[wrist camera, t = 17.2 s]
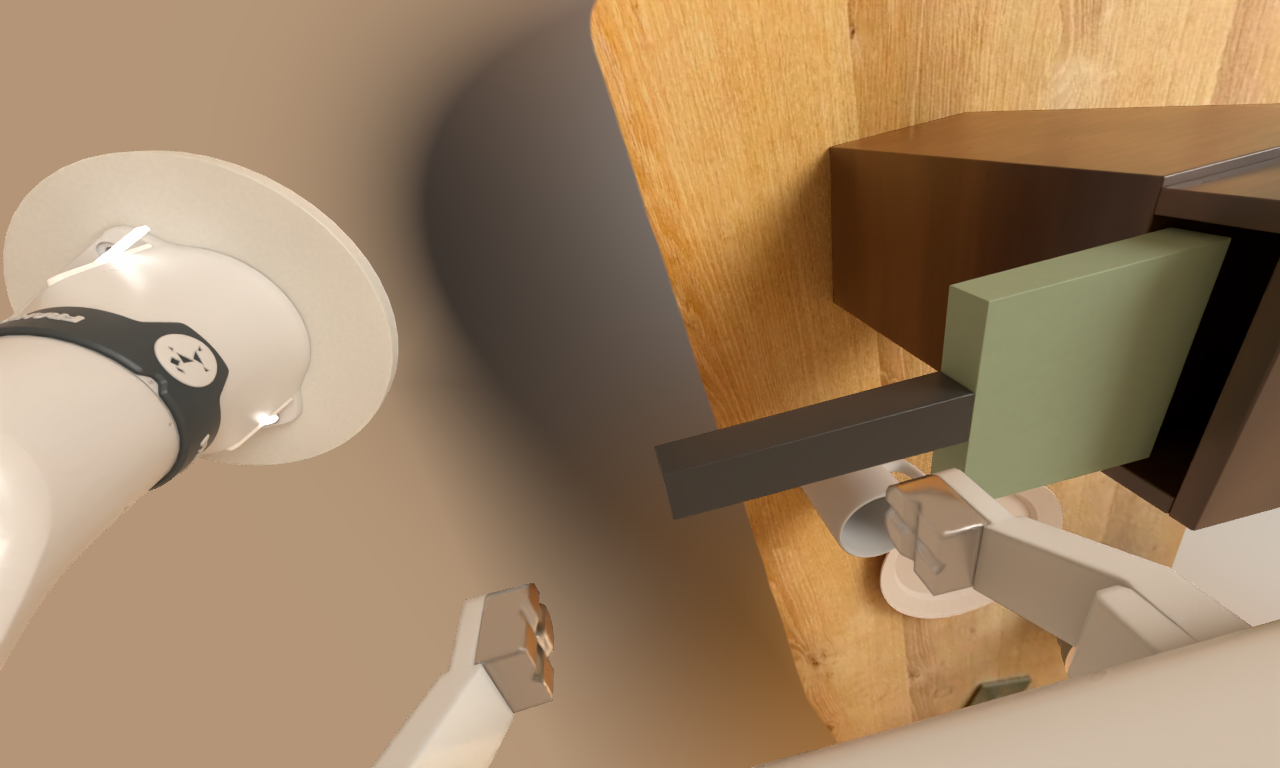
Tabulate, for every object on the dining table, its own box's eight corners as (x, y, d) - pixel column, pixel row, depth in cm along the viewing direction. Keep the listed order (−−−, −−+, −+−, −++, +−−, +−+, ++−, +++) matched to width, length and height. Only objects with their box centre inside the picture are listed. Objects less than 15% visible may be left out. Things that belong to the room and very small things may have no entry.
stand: (833, 302, 48) (1189, 538, 21) (829, 146, 41) (1354, 193, 14) (950, 271, 48) (1457, 465, 21) (966, 111, 41) (1749, 89, 14)
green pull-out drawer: (679, 548, 23) (689, 582, 22) (633, 367, 19) (641, 392, 17) (1106, 433, 24) (1149, 457, 22) (1171, 226, 19) (1233, 237, 17)
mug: (792, 495, 59) (837, 567, 49) (789, 438, 55) (838, 505, 45) (888, 471, 59) (951, 538, 50) (892, 413, 55) (961, 474, 46)
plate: (842, 545, 64) (849, 557, 63) (1023, 435, 60) (1037, 444, 58) (911, 630, 76) (919, 642, 74) (1068, 542, 71) (1081, 553, 69)
